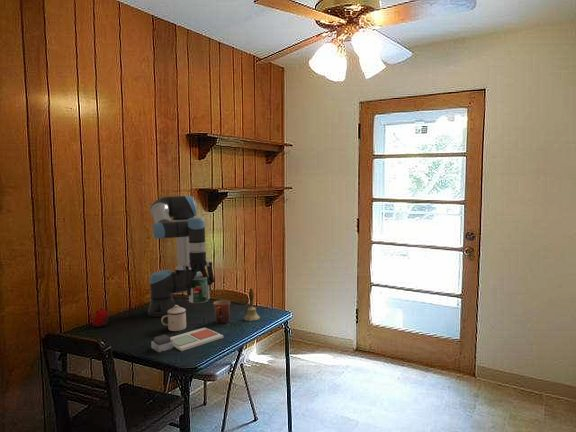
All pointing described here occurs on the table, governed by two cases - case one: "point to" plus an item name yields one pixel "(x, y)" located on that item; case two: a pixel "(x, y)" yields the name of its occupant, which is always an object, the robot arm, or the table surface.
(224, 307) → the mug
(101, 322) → the red clay folk toy
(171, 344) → the button base
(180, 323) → the teacup with lid
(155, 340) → the button
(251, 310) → the hand bell
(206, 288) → the canned tomato
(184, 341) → the picture board
